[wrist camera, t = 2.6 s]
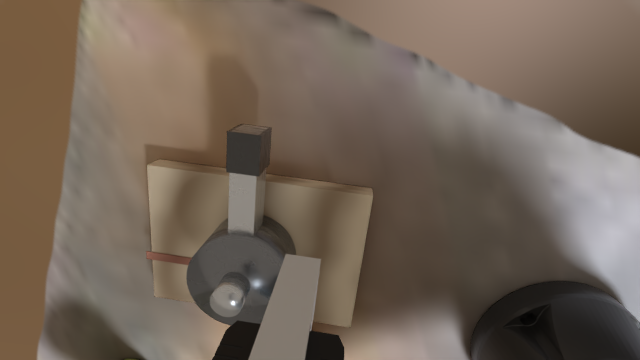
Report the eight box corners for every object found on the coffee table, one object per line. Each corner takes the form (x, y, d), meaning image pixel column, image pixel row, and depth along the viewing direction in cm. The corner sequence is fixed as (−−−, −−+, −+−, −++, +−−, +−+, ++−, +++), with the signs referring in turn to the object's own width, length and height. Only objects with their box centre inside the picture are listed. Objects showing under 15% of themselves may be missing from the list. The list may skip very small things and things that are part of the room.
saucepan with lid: (292, 294, 33) (276, 355, 26) (210, 282, 33) (174, 338, 26) (308, 129, 28) (294, 150, 21) (212, 117, 28) (166, 134, 21)
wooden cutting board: (372, 188, 31) (373, 196, 29) (350, 313, 36) (350, 328, 34) (153, 158, 32) (140, 164, 30) (160, 283, 37) (149, 296, 35)
